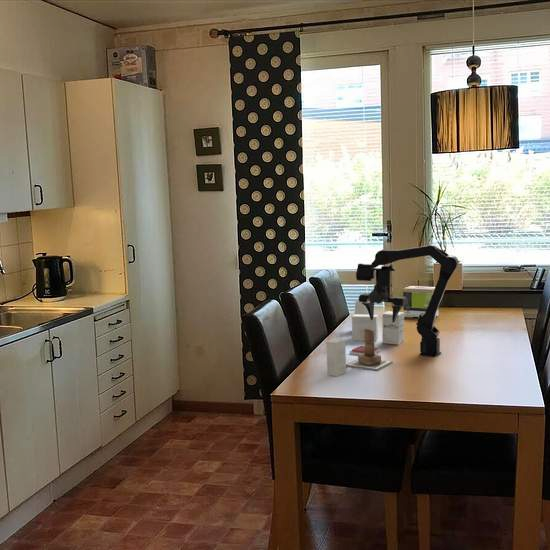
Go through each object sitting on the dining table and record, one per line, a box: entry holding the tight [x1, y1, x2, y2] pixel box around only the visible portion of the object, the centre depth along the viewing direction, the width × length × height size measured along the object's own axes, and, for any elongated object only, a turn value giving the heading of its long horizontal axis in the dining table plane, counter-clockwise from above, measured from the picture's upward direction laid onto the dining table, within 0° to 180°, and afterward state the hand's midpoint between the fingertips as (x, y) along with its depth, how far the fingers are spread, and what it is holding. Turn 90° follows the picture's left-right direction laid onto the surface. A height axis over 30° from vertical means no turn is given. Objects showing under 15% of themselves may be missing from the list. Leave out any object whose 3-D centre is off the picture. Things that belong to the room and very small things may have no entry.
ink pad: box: [348, 345, 381, 356], centre depth 271 cm, size 9×9×2 cm
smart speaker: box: [354, 300, 369, 315], centre depth 311 cm, size 10×9×14 cm
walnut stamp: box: [357, 329, 382, 366], centre depth 252 cm, size 6×6×12 cm
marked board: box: [346, 358, 394, 372], centre depth 253 cm, size 13×13×1 cm
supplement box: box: [381, 310, 405, 346], centre depth 287 cm, size 7×7×13 cm
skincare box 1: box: [325, 337, 347, 377], centre depth 241 cm, size 6×4×12 cm
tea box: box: [402, 285, 440, 319], centre depth 342 cm, size 15×10×15 cm, turn 58°
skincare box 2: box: [351, 313, 379, 342], centre depth 295 cm, size 10×6×10 cm, turn 74°
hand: (382, 321), depth 271 cm, fingers open, 9 cm apart
